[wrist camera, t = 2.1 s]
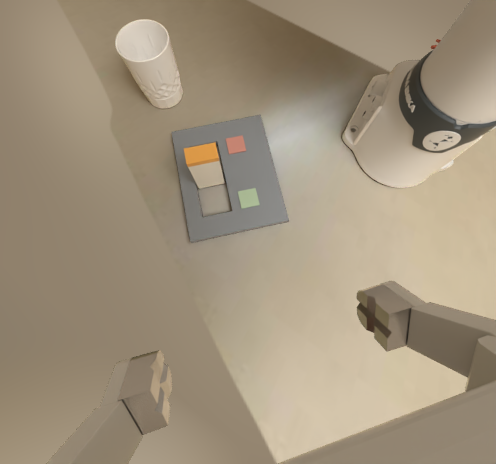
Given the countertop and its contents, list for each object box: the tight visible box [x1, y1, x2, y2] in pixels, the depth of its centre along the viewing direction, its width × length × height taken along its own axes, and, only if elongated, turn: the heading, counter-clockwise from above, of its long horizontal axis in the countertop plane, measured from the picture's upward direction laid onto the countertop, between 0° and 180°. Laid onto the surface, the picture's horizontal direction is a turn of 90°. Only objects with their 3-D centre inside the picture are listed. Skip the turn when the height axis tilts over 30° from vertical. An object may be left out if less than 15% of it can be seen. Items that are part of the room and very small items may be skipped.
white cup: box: [115, 19, 183, 109], centre depth 39 cm, size 8×8×10 cm
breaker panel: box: [172, 115, 289, 243], centre depth 40 cm, size 20×16×1 cm
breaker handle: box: [184, 142, 224, 189], centre depth 36 cm, size 2×4×8 cm, turn 103°
